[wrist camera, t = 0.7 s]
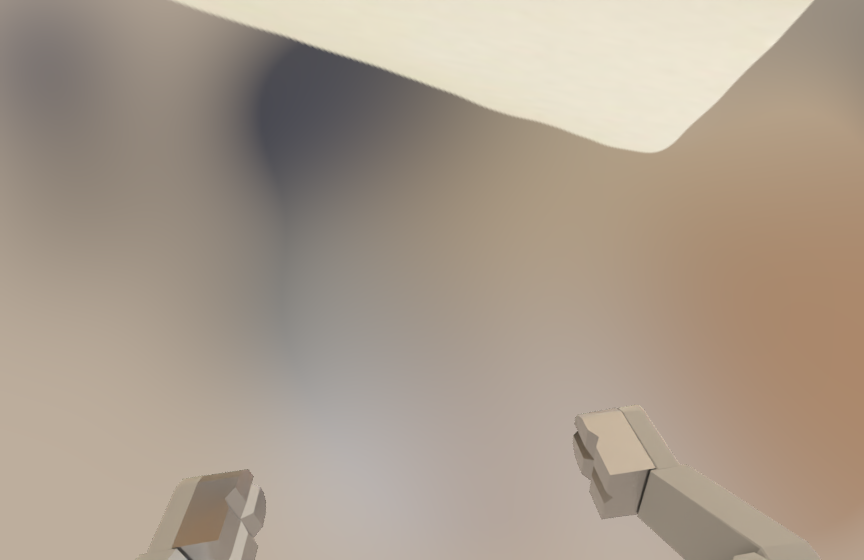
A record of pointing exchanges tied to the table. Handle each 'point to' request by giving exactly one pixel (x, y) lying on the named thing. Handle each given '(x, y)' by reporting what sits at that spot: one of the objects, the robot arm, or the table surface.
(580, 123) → the table surface
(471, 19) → the table surface
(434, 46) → the table surface
